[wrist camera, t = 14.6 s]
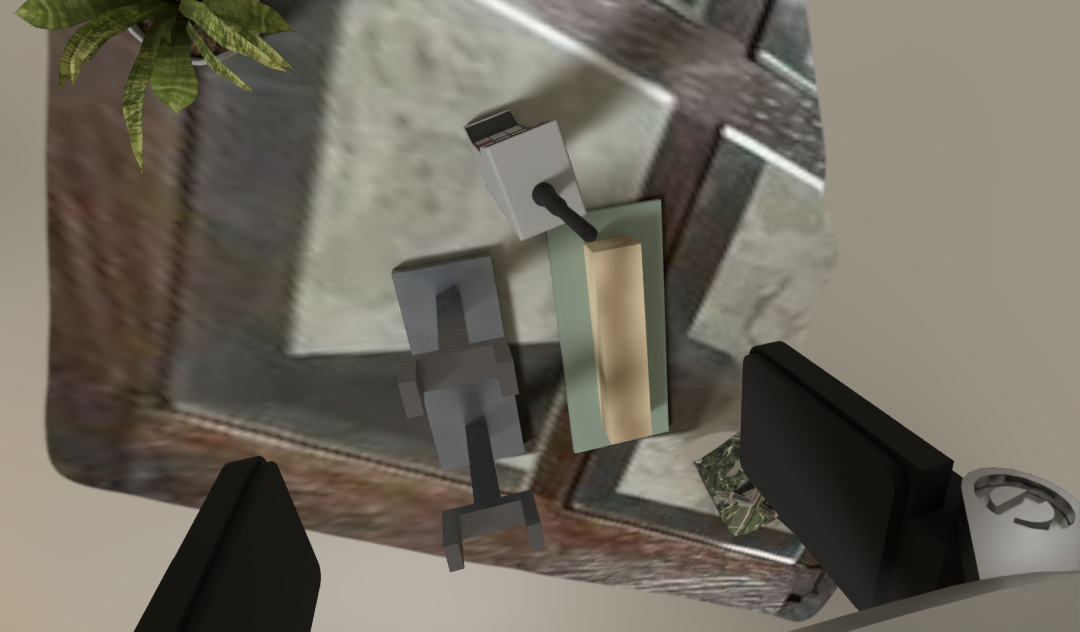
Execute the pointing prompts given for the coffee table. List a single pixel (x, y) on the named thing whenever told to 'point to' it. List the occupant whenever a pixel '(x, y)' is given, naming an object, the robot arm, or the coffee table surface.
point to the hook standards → (464, 390)
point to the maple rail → (619, 336)
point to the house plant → (162, 43)
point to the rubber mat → (576, 317)
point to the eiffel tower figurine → (734, 490)
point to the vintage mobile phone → (529, 175)
